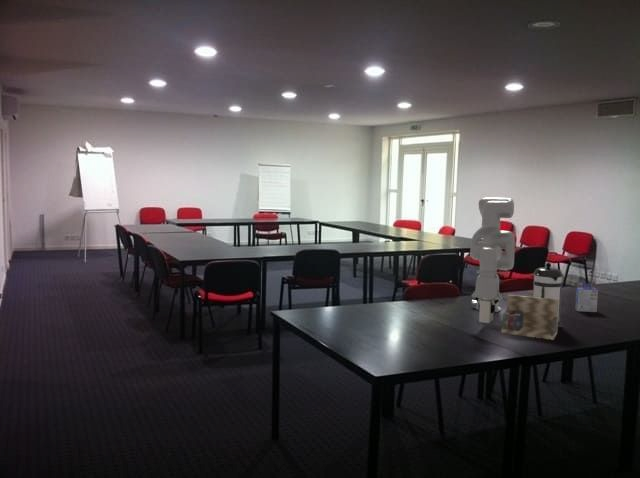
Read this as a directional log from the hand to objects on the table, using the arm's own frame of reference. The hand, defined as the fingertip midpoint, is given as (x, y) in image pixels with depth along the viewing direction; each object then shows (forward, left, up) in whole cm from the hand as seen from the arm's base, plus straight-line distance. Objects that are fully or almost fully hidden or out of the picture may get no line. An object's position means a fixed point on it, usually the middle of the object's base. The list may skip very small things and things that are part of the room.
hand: (486, 311), depth 254 cm
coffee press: (+22, +21, -8) cm, 32 cm away
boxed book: (0, 0, -4) cm, 4 cm away
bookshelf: (+19, 0, -7) cm, 21 cm away
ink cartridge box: (+37, +62, -8) cm, 73 cm away
